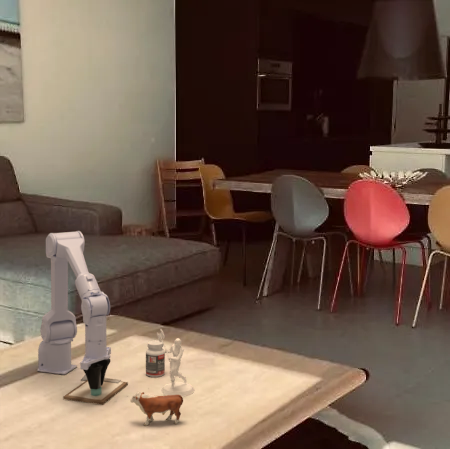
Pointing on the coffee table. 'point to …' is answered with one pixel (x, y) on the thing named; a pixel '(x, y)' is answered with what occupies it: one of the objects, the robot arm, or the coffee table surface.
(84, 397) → the brown picture frame
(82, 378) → the grey slotted plate
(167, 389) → the figurine
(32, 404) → the coffee table surface
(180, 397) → the bull figurine
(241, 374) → the coffee table surface
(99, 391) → the marker
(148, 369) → the pill bottle
